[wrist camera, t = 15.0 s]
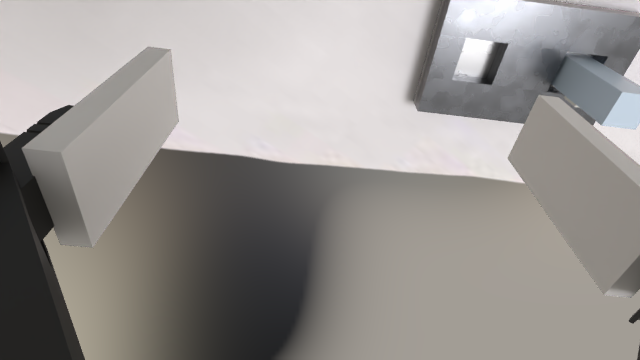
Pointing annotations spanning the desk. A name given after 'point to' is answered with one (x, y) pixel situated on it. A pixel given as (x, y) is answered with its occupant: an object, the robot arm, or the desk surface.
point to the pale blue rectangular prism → (599, 91)
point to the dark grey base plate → (516, 54)
